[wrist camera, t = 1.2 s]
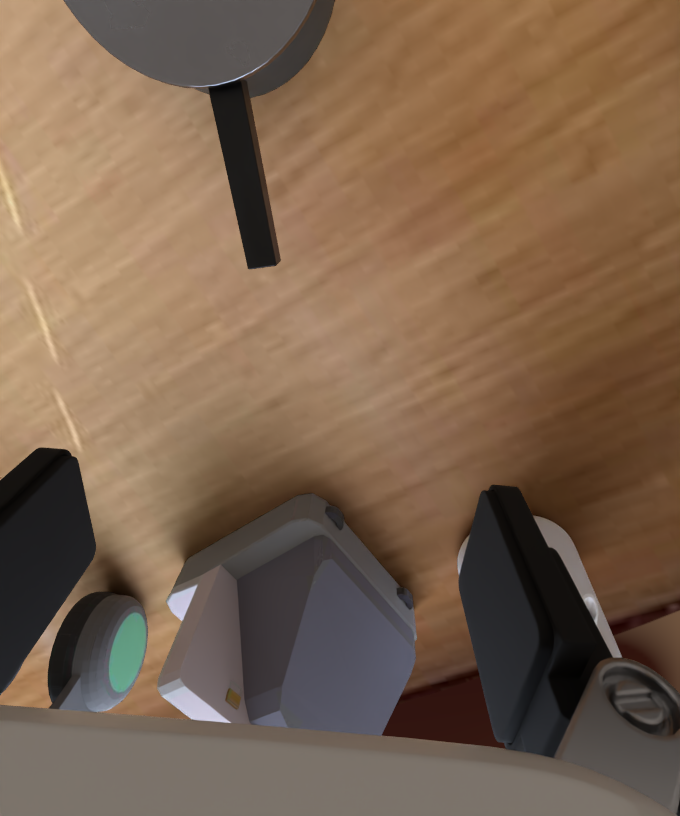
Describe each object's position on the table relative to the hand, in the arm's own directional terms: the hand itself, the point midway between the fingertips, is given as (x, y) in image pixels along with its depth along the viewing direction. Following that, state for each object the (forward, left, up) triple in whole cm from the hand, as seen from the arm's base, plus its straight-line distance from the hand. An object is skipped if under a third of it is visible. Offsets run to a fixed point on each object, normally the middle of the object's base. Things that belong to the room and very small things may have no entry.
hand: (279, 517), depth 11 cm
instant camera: (+8, +31, -27) cm, 42 cm away
